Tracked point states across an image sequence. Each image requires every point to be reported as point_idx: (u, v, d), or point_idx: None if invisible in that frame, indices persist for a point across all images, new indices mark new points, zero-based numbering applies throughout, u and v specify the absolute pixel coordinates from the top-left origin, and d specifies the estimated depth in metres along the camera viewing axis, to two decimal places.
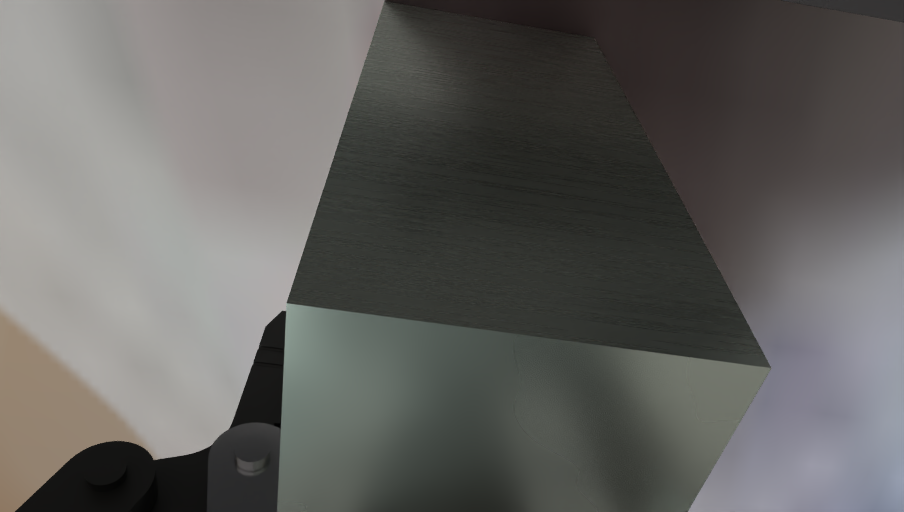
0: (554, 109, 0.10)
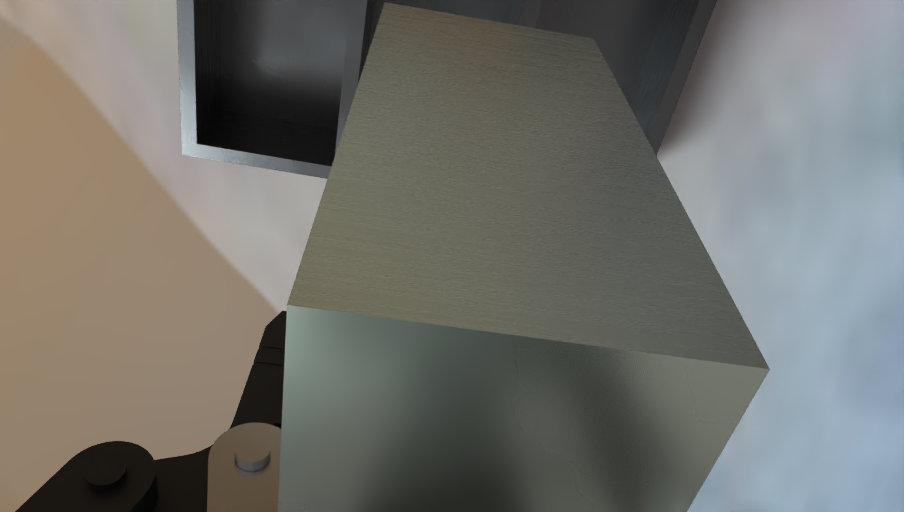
0: (553, 109, 0.10)
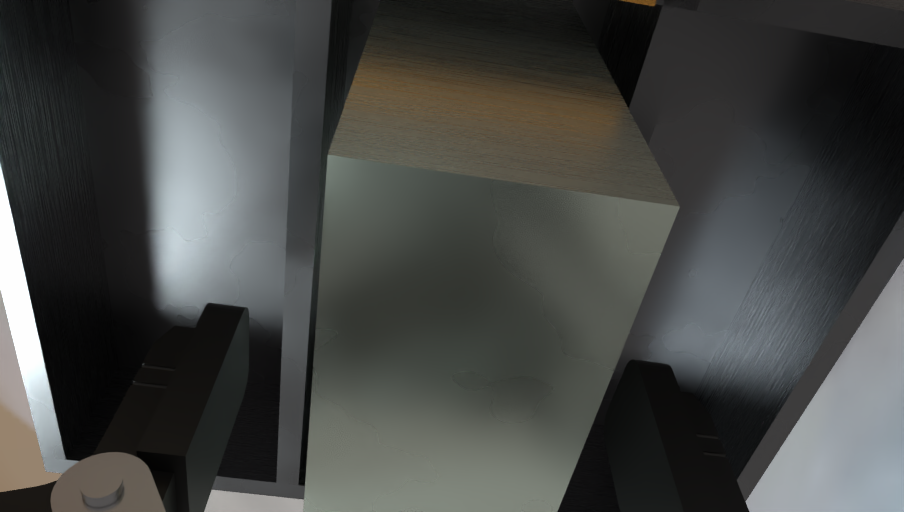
0: (532, 48, 0.12)
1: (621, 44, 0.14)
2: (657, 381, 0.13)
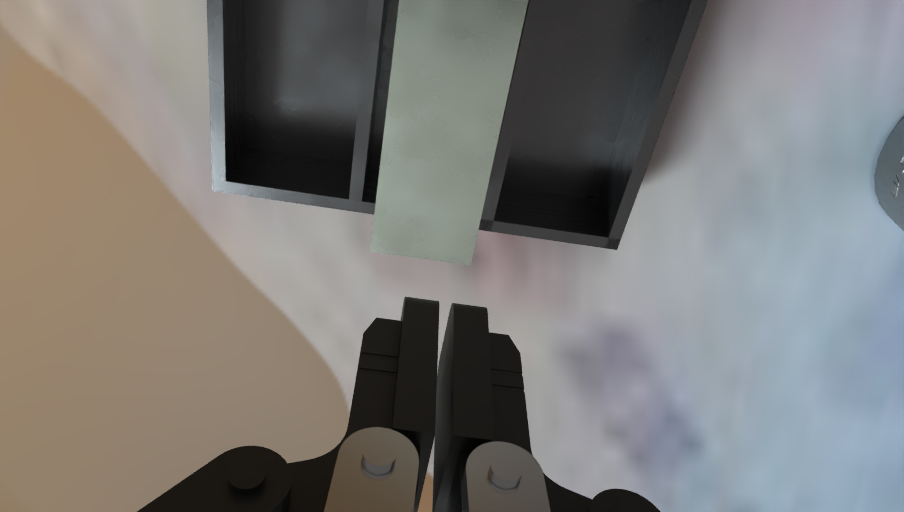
0: None
1: None
2: (468, 321, 0.13)
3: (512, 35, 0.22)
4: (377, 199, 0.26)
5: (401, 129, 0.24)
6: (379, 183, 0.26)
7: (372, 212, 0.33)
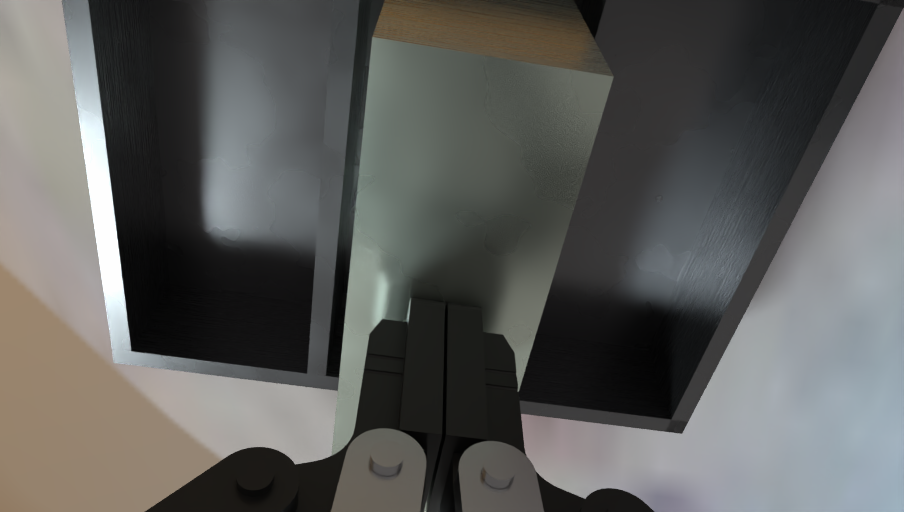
0: None
1: None
2: (462, 321, 0.13)
3: (556, 220, 0.13)
4: (335, 438, 0.17)
5: None
6: (337, 419, 0.16)
7: None
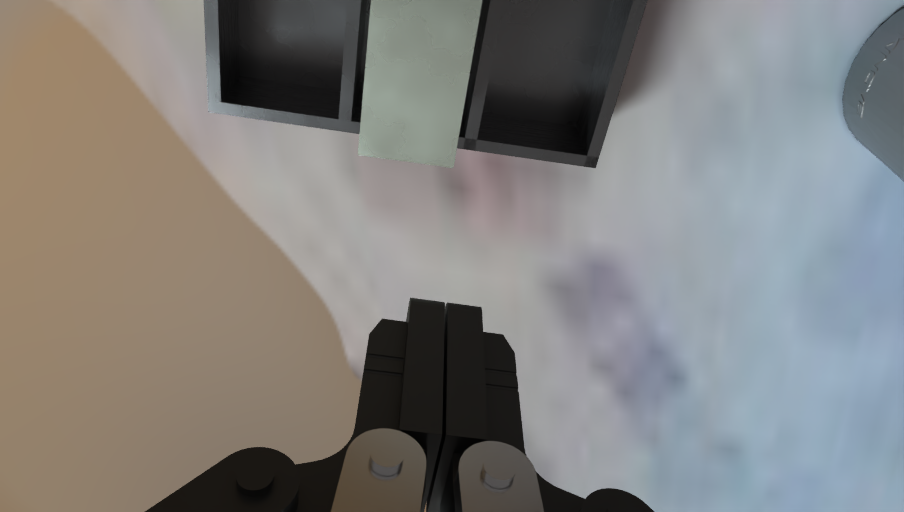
0: None
1: None
2: (462, 321, 0.13)
3: None
4: (363, 101, 0.27)
5: (384, 28, 0.26)
6: (365, 84, 0.27)
7: None
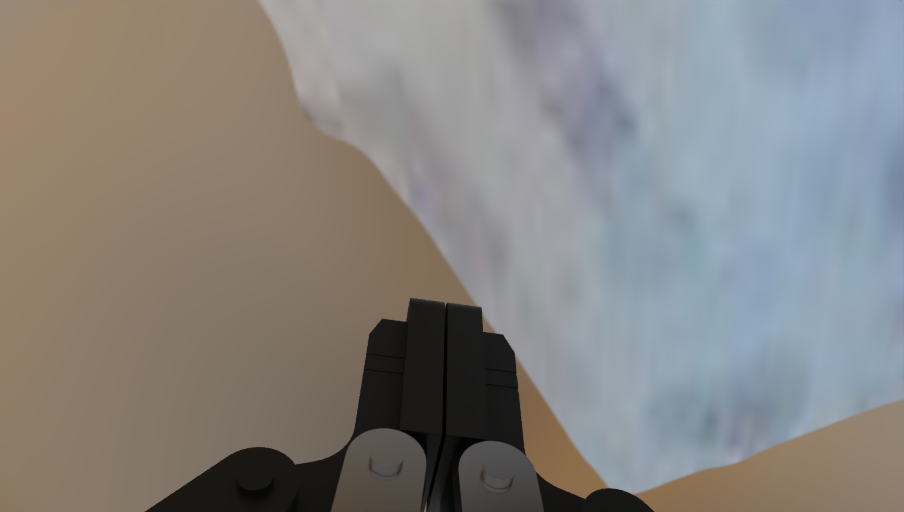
0: None
1: None
2: (462, 321, 0.13)
3: None
4: None
5: None
6: None
7: None
